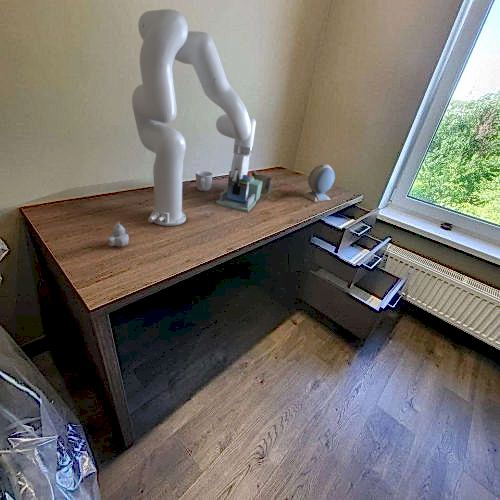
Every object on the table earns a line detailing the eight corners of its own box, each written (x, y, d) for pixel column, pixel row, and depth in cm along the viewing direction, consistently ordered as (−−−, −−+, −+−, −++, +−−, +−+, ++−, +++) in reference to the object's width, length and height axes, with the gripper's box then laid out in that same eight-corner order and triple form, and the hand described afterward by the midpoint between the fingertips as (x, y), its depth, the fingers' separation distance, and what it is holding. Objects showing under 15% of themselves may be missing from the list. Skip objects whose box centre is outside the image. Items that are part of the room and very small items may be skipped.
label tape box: (247, 200, 125) (251, 173, 118) (244, 203, 121) (248, 175, 115) (229, 195, 126) (232, 169, 120) (225, 198, 123) (228, 171, 117)
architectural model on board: (249, 187, 146) (251, 169, 141) (252, 186, 148) (254, 168, 143) (267, 194, 141) (270, 175, 136) (270, 193, 144) (273, 174, 139)
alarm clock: (318, 193, 156) (327, 161, 147) (332, 199, 149) (342, 166, 140) (300, 195, 148) (309, 161, 139) (313, 202, 142) (323, 167, 133)
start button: (249, 178, 127) (249, 174, 126) (241, 177, 128) (242, 172, 127) (251, 176, 130) (252, 172, 129) (244, 175, 131) (244, 170, 130)
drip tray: (247, 212, 118) (249, 203, 116) (215, 203, 121) (216, 194, 119) (256, 203, 129) (257, 194, 127) (226, 195, 132) (227, 187, 130)
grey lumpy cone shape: (134, 245, 84) (132, 221, 80) (114, 253, 79) (111, 228, 75) (122, 238, 87) (119, 215, 82) (102, 246, 82) (99, 222, 77)
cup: (209, 195, 128) (210, 178, 124) (192, 193, 128) (192, 176, 124) (212, 188, 137) (213, 172, 133) (196, 185, 137) (197, 169, 133)
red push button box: (255, 202, 129) (258, 181, 124) (227, 195, 132) (229, 174, 127) (259, 197, 136) (263, 177, 131) (233, 190, 139) (235, 171, 134)
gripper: (241, 145, 121) (236, 186, 130) (226, 151, 107) (222, 196, 116) (257, 148, 119) (251, 189, 129) (245, 155, 105) (239, 200, 115)
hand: (237, 192), depth 122 cm, fingers closed on label tape box, 4 cm apart
